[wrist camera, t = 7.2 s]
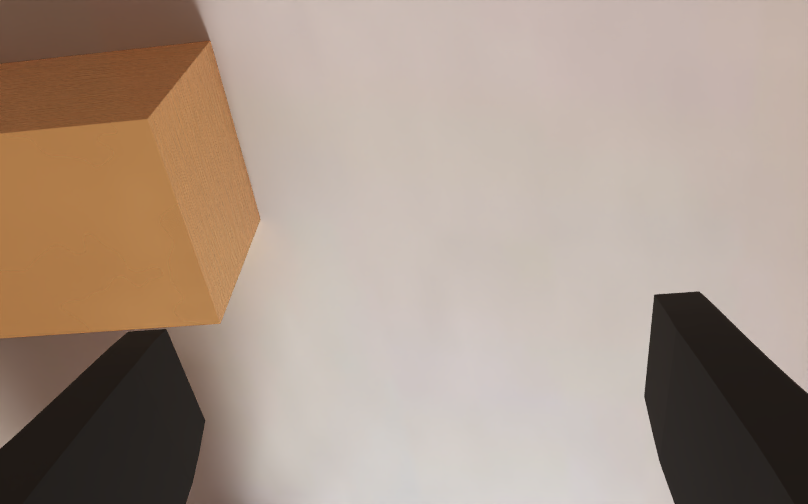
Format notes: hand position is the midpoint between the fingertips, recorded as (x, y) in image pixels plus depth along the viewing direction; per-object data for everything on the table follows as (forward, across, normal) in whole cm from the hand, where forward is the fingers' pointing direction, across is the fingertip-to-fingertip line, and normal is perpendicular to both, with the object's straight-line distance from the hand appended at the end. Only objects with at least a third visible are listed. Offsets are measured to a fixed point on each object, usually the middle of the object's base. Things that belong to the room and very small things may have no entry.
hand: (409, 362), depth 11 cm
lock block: (+9, +8, 0) cm, 12 cm away
